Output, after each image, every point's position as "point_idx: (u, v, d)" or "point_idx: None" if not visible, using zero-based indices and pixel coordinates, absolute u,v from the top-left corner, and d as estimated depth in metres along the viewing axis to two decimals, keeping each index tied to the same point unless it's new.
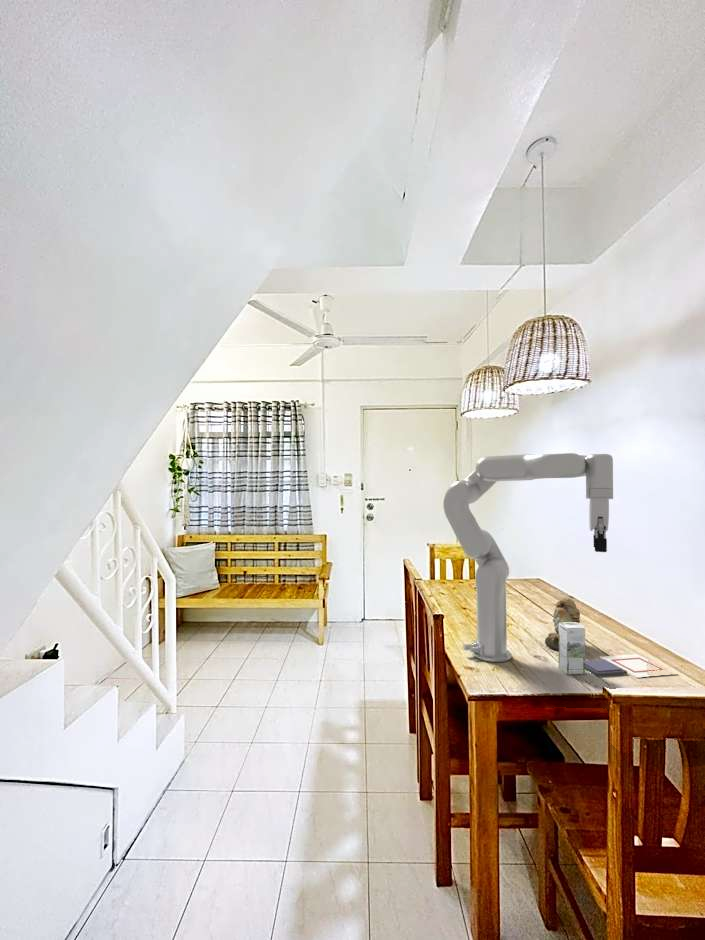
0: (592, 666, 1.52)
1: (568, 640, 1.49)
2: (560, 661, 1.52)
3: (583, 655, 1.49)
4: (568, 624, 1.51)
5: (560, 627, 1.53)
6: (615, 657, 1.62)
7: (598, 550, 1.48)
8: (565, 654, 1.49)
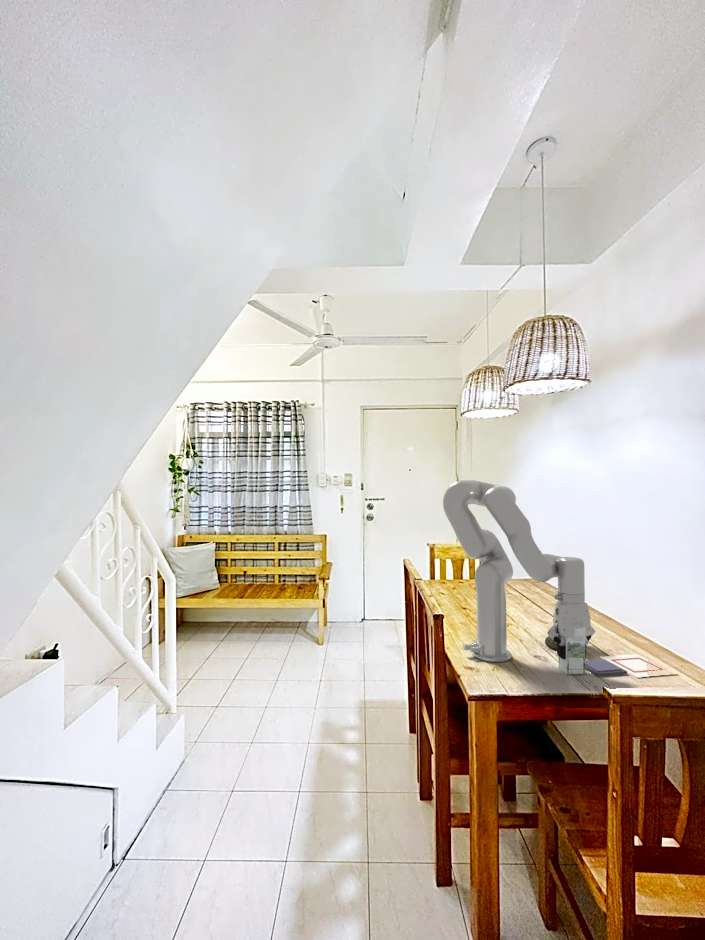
0: (592, 666, 1.52)
1: (568, 640, 1.48)
2: (560, 661, 1.52)
3: (583, 655, 1.49)
4: None
5: None
6: (615, 657, 1.62)
7: None
8: None
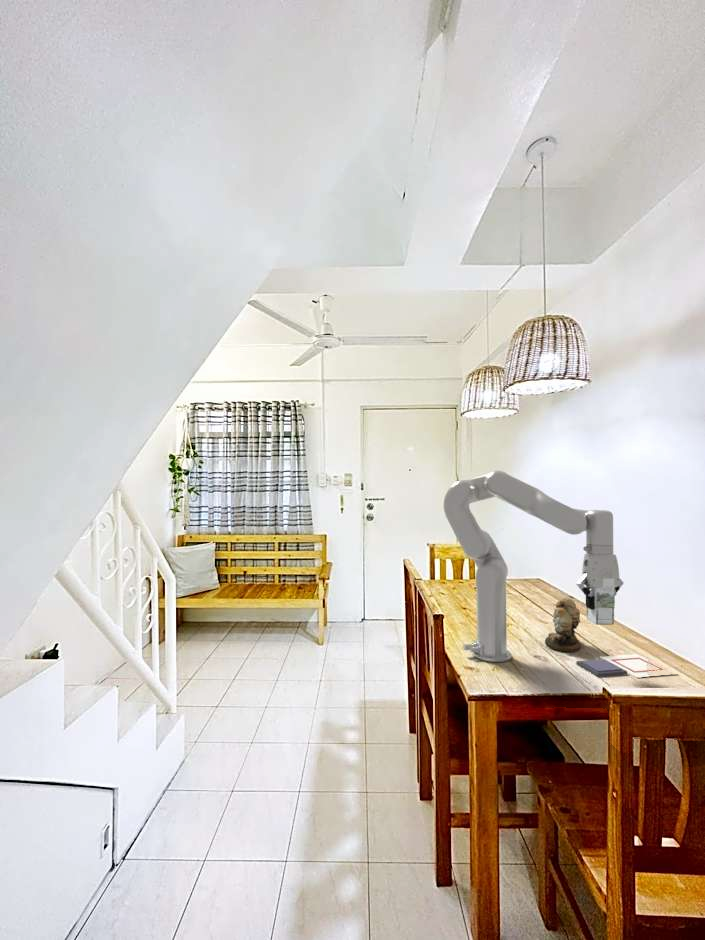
0: (592, 666, 1.52)
1: (597, 590, 1.50)
2: (589, 612, 1.54)
3: (612, 605, 1.51)
4: None
5: None
6: (615, 657, 1.62)
7: None
8: (595, 604, 1.51)
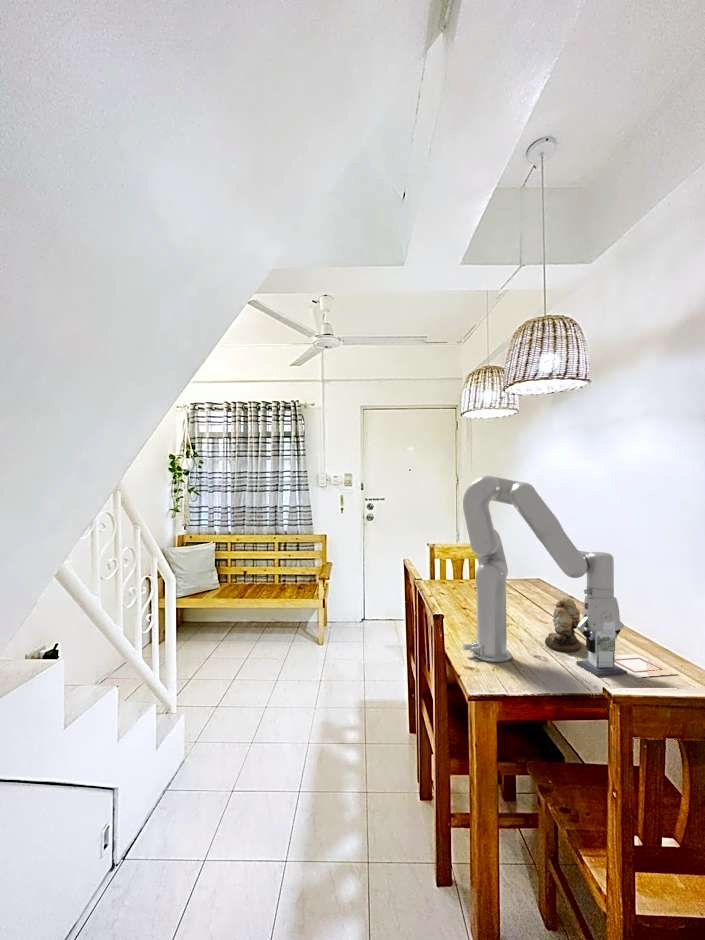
0: (592, 666, 1.52)
1: (598, 633, 1.50)
2: (589, 655, 1.54)
3: (613, 649, 1.50)
4: None
5: None
6: (615, 657, 1.62)
7: None
8: (595, 648, 1.51)
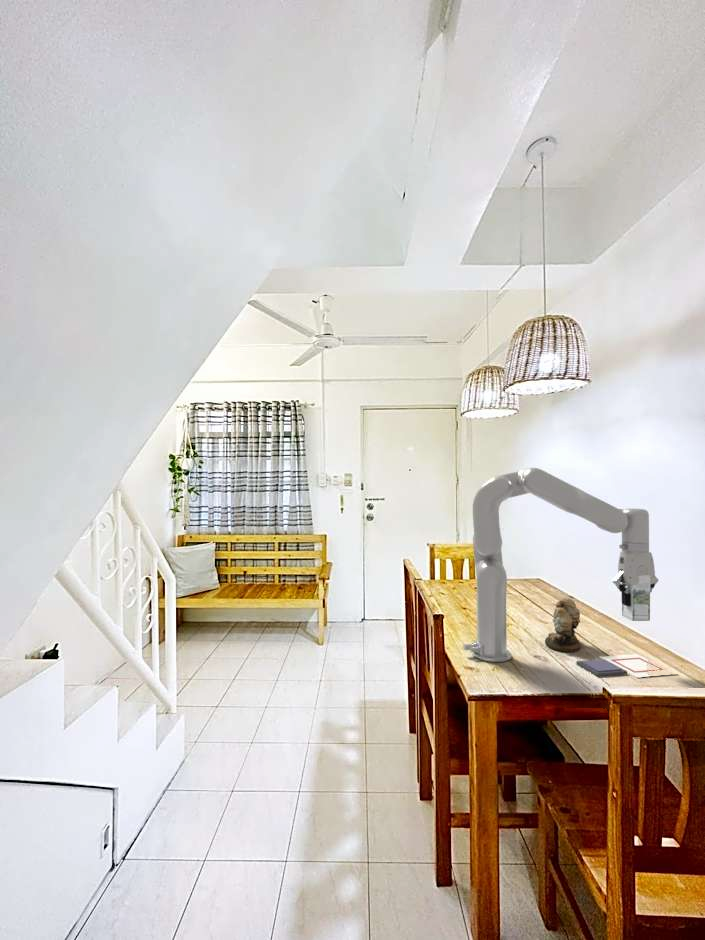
0: (592, 666, 1.52)
1: (634, 587, 1.53)
2: (625, 609, 1.57)
3: (648, 602, 1.53)
4: None
5: None
6: (615, 657, 1.62)
7: None
8: (631, 601, 1.54)
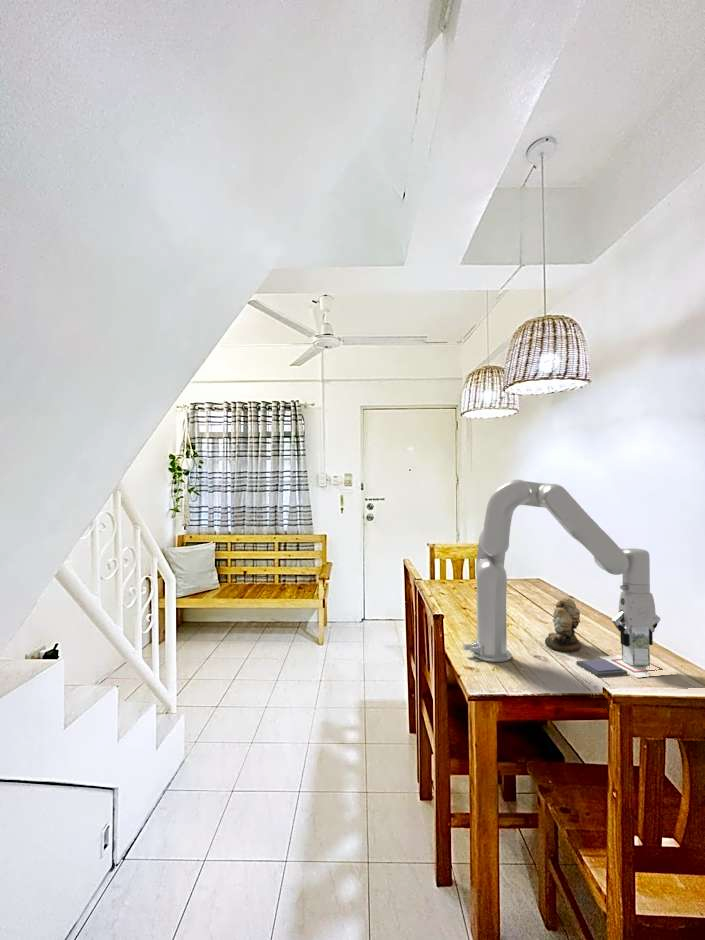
0: (592, 666, 1.52)
1: (633, 631, 1.54)
2: (624, 653, 1.57)
3: (648, 646, 1.54)
4: None
5: None
6: (615, 657, 1.62)
7: None
8: (631, 645, 1.54)
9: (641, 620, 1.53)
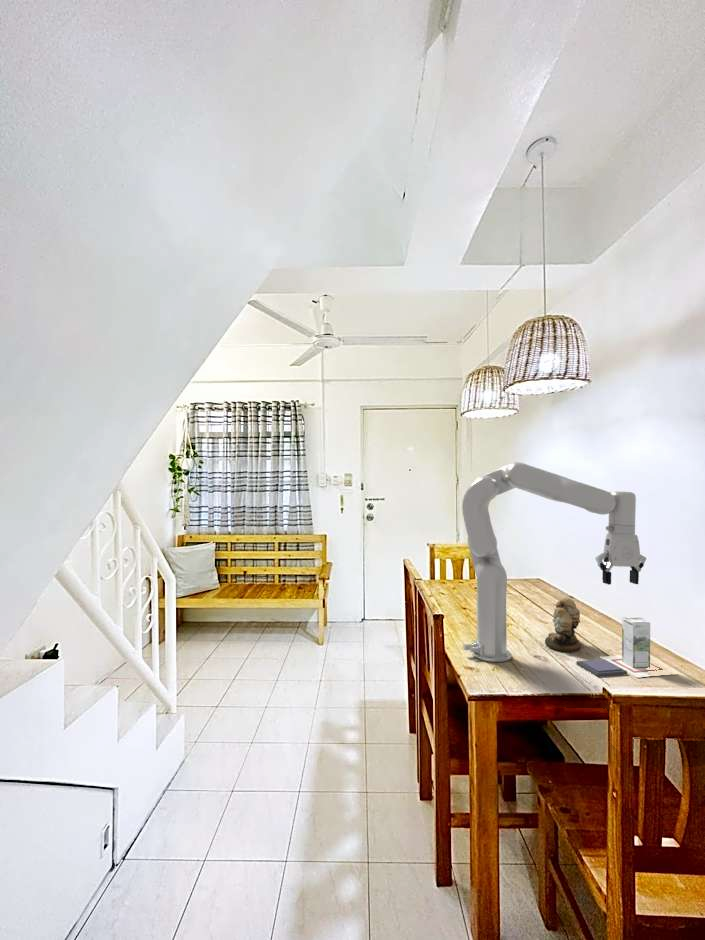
0: (592, 666, 1.52)
1: (634, 634, 1.53)
2: (625, 655, 1.57)
3: (648, 648, 1.53)
4: (633, 619, 1.56)
5: (624, 622, 1.57)
6: (615, 657, 1.62)
7: None
8: (631, 648, 1.54)
9: (625, 560, 1.55)
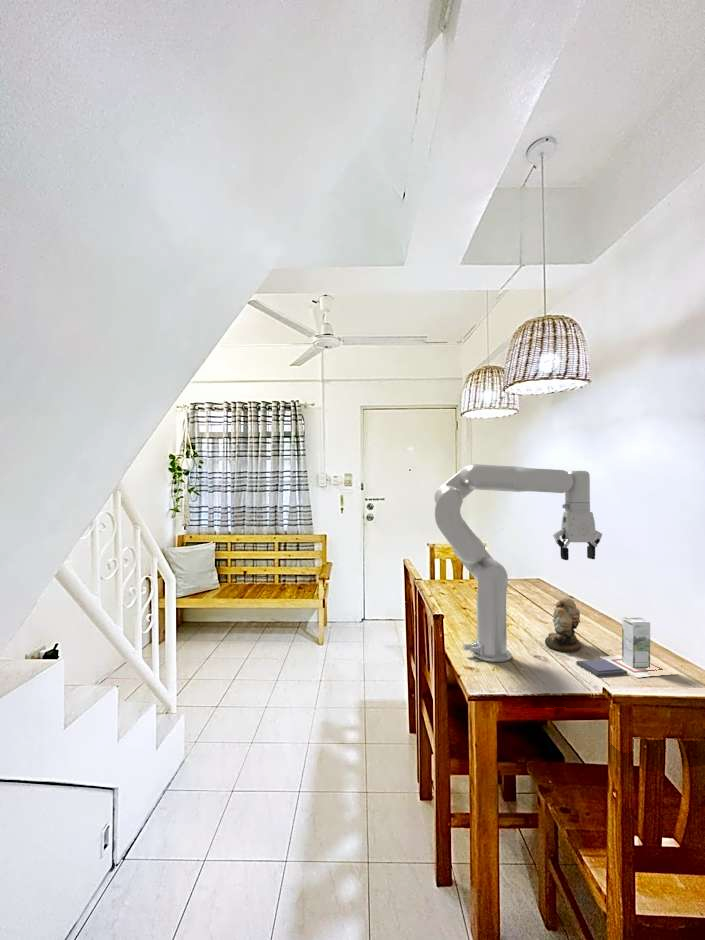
0: (592, 666, 1.52)
1: (634, 634, 1.53)
2: (625, 655, 1.57)
3: (648, 648, 1.53)
4: (633, 619, 1.56)
5: (624, 622, 1.57)
6: (615, 657, 1.62)
7: None
8: (631, 648, 1.54)
9: (581, 536, 1.62)
